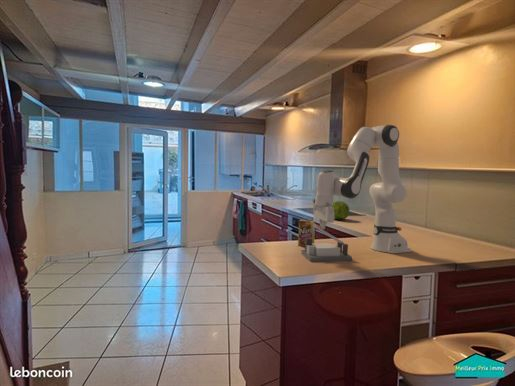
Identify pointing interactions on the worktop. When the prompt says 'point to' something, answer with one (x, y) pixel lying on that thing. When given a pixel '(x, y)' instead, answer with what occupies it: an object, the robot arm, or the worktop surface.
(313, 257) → the heatsink board
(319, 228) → the strap
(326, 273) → the worktop surface
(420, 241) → the worktop surface
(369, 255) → the worktop surface
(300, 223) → the candy box
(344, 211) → the lettuce
